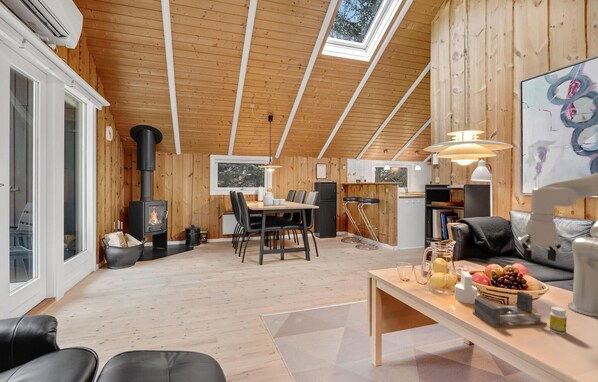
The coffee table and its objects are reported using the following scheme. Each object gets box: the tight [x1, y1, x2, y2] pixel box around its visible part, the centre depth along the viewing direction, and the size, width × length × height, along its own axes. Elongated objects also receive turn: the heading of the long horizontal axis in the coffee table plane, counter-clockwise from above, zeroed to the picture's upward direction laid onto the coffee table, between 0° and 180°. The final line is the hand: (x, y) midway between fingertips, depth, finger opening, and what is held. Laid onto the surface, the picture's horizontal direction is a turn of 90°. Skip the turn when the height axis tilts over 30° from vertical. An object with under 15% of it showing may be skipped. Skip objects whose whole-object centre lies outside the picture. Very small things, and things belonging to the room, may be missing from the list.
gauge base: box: [472, 298, 547, 328], centre depth 121 cm, size 22×12×7 cm, turn 97°
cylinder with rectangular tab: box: [454, 270, 478, 305], centre depth 141 cm, size 9×9×12 cm
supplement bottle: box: [548, 306, 568, 335], centre depth 112 cm, size 5×5×8 cm
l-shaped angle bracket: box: [506, 291, 534, 317], centre depth 120 cm, size 8×9×9 cm
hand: (539, 260), depth 123 cm, fingers open, 9 cm apart
